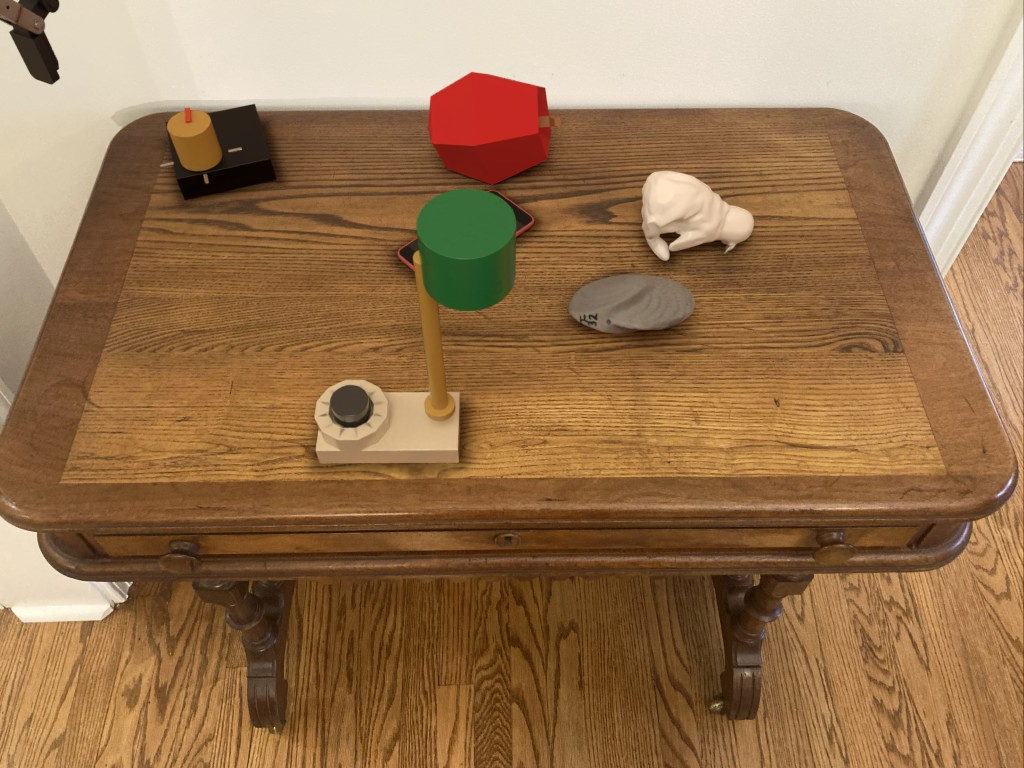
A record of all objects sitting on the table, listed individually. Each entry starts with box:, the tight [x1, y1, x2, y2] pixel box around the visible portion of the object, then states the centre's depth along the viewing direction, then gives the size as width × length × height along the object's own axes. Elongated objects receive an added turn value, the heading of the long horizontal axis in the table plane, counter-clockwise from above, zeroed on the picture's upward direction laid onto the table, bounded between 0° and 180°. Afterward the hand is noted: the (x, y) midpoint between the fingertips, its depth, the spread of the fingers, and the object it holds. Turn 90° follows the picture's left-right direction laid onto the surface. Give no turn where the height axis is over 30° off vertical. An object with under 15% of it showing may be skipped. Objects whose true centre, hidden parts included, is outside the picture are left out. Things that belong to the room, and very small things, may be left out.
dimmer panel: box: [159, 103, 277, 201], centre depth 94 cm, size 11×12×3 cm
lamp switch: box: [330, 385, 371, 427], centre depth 72 cm, size 3×3×2 cm
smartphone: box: [397, 189, 535, 273], centre depth 89 cm, size 7×1×14 cm
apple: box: [427, 71, 562, 186], centre depth 92 cm, size 12×12×15 cm
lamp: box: [413, 188, 517, 421], centre depth 64 cm, size 8×6×22 cm
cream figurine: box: [640, 170, 755, 262], centre depth 86 cm, size 6×8×12 cm
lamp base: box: [313, 379, 462, 464], centre depth 74 cm, size 12×6×4 cm, turn 91°
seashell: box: [567, 273, 696, 335], centre depth 81 cm, size 12×6×10 cm
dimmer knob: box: [166, 107, 222, 171], centre depth 90 cm, size 4×4×5 cm
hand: (3, 112), depth 61 cm, fingers open, 8 cm apart
